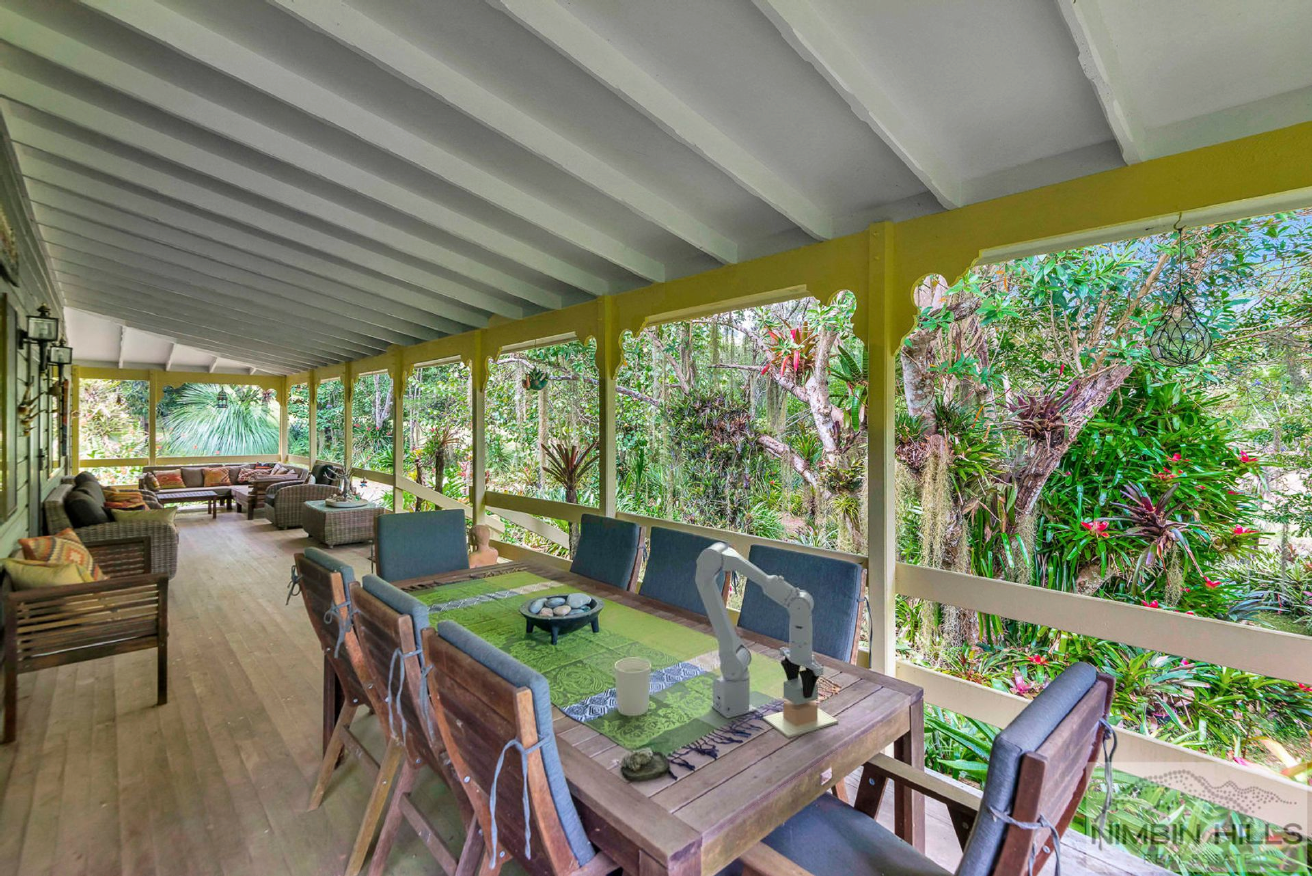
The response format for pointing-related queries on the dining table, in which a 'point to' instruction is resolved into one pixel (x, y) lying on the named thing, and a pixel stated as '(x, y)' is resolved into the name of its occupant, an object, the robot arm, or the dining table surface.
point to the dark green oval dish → (644, 765)
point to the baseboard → (793, 730)
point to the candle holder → (632, 685)
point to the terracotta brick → (800, 712)
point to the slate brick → (798, 691)
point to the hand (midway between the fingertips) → (800, 692)
